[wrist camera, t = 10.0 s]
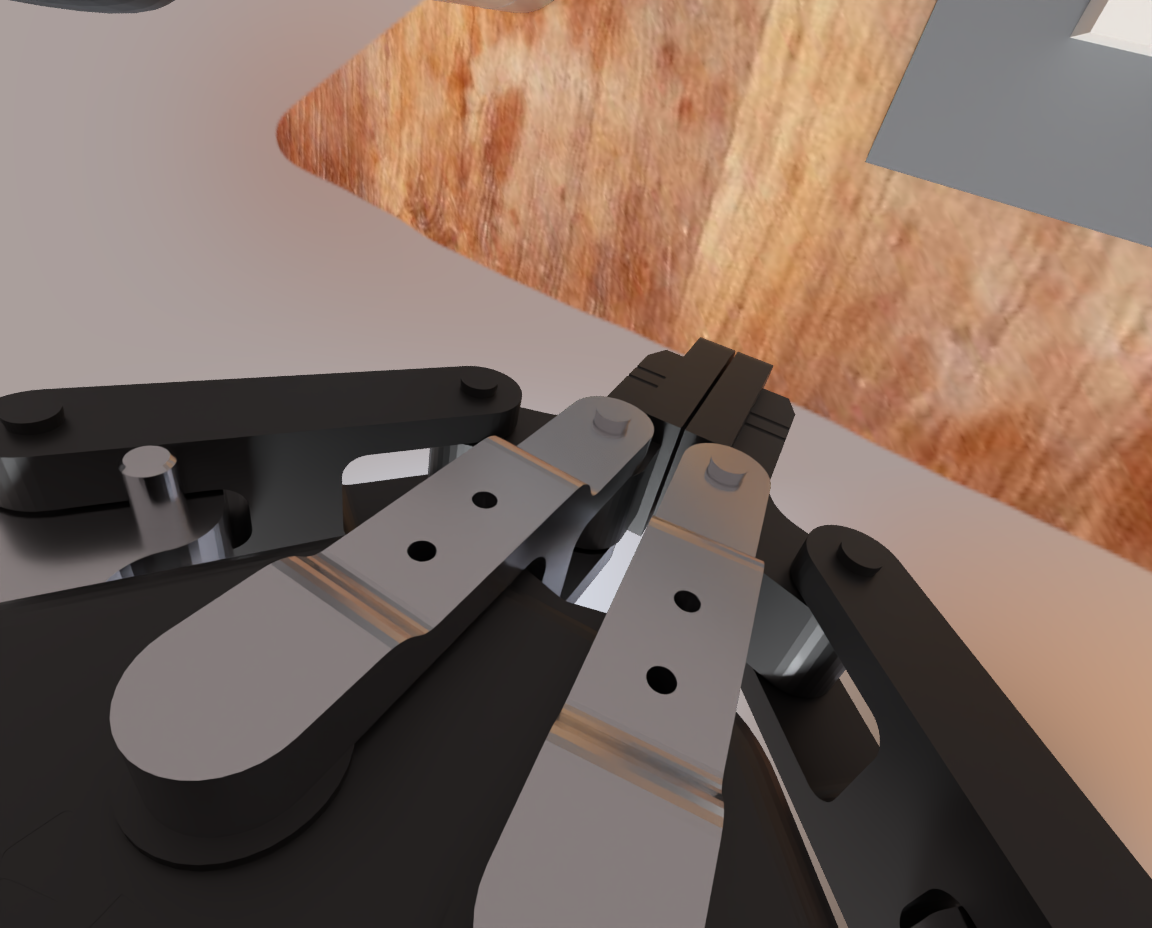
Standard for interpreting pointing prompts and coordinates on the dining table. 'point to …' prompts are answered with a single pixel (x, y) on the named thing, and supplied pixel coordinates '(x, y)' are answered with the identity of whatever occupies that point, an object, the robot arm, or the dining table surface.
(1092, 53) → the mat
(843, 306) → the dining table surface
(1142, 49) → the block
